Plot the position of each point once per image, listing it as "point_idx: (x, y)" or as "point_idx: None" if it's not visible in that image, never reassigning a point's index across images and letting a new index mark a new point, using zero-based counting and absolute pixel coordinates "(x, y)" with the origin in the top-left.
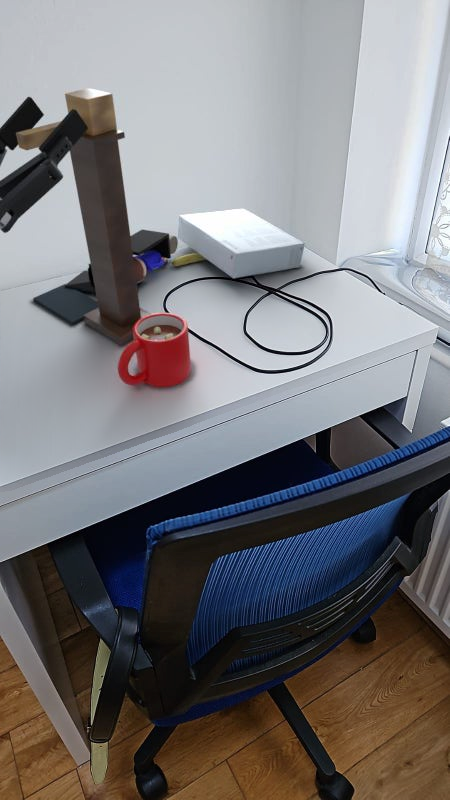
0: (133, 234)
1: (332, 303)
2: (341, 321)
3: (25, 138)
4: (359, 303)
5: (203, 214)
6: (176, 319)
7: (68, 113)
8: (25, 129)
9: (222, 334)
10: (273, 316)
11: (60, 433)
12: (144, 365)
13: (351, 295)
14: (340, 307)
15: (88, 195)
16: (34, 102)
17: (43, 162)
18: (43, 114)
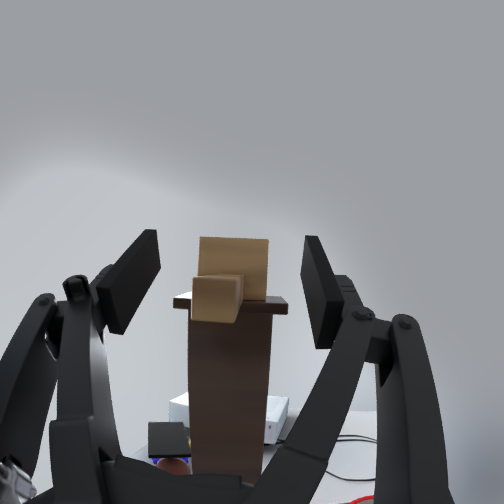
0: (148, 430)
1: (347, 428)
2: (372, 434)
3: (236, 288)
4: (358, 420)
5: (186, 396)
6: (364, 501)
7: (307, 240)
8: (142, 288)
9: (333, 492)
10: (336, 457)
11: None
12: None
13: (345, 418)
14: (355, 427)
15: (223, 406)
16: (157, 240)
17: (396, 325)
18: (160, 267)
